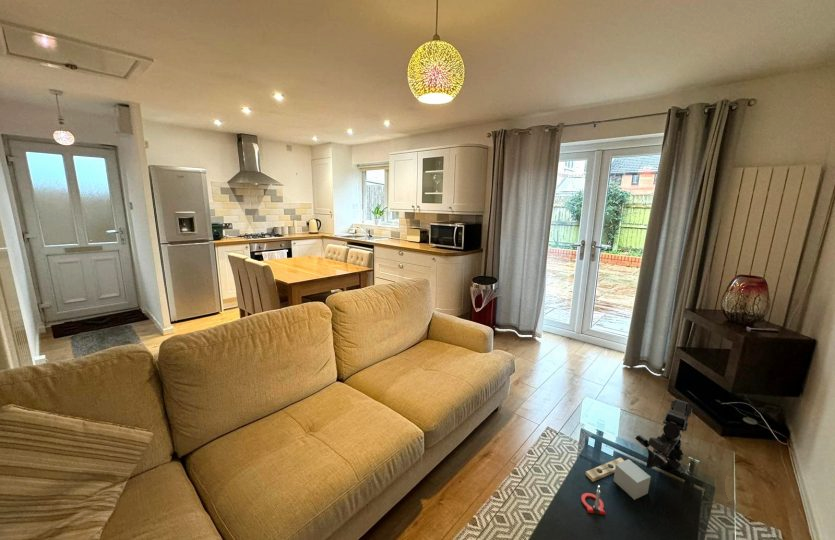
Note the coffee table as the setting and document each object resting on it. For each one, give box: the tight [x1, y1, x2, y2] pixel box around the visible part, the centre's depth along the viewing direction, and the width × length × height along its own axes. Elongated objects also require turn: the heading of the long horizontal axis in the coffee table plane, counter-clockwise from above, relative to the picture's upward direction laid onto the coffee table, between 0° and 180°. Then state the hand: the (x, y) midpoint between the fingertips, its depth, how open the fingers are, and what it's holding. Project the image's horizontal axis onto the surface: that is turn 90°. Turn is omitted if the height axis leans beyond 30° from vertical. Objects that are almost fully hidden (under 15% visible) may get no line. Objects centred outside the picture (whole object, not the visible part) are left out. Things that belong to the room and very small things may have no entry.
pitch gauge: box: [585, 457, 626, 482], centre depth 152 cm, size 22×4×2 cm, turn 110°
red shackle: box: [580, 485, 606, 516], centre depth 135 cm, size 8×13×9 cm
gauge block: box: [612, 458, 652, 501], centre depth 143 cm, size 8×10×9 cm
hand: (647, 468), depth 145 cm, fingers closed
